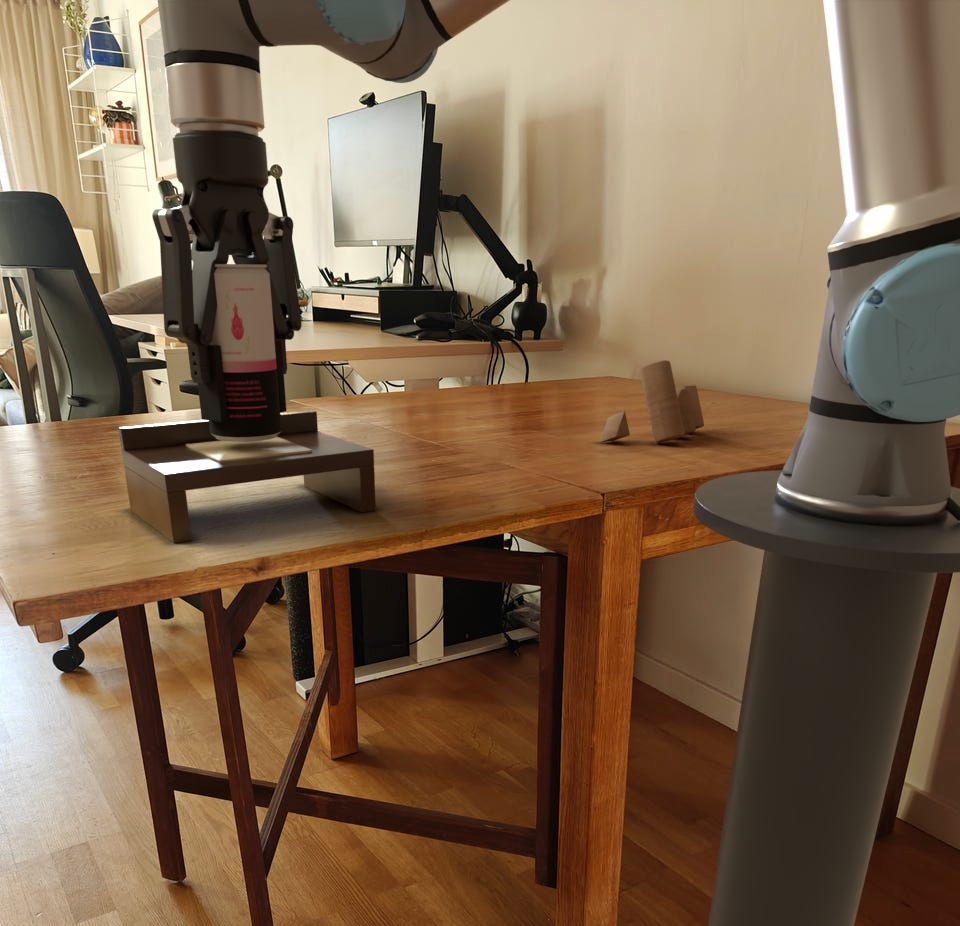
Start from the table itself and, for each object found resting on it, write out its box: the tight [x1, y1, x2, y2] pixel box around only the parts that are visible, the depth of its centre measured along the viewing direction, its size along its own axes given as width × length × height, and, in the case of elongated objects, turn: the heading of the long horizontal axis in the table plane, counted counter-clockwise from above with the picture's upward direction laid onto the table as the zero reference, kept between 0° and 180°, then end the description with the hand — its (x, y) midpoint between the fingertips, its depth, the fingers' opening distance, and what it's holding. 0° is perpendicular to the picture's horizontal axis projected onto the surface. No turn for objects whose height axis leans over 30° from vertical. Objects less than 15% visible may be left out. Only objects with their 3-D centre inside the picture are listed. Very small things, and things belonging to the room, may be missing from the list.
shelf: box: [117, 409, 377, 544], centre depth 83 cm, size 13×20×8 cm, turn 126°
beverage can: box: [209, 263, 282, 442], centre depth 79 cm, size 7×6×15 cm
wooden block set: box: [599, 360, 705, 444], centre depth 121 cm, size 18×9×10 cm, turn 131°
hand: (245, 414), depth 81 cm, fingers closed on beverage can, 6 cm apart
